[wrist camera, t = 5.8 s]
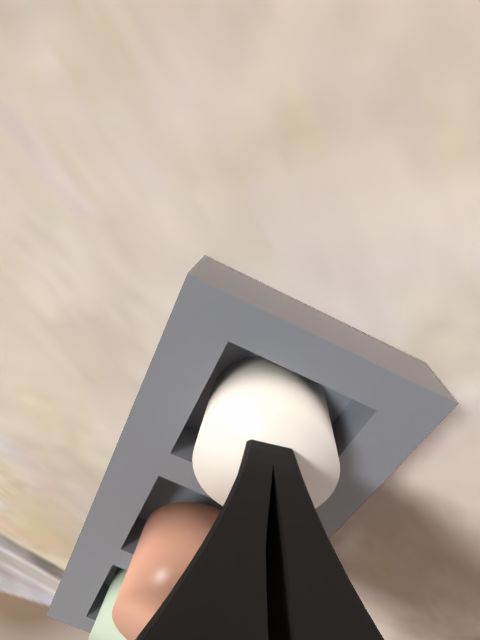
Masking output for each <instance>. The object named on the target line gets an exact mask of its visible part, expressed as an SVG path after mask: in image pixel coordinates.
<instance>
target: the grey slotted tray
mask: <svg viewBox="0 0 480 640" xmlns="http://www.w3.org/2000/svg"><path fill="white" fill-rule="evenodd" d="M254 356H261V357H263V358H265V359H267V360H270V361H272V362H274V363H276V364H278V365H280V366H282V367H285V368H287V369H289V370H291V371H293V372H295V373H297V374H300V375H302V376H304V377H306V378H308V379H310V380H312V381H315V382H317V383H319V384H321V386H322V388H323V390H324V393H325V397H326V402H327V406H328V411H329V416H330V420H331V425H332V429H333V434H334V439H335V443H336V448H337V452H338V457H339V462H340V476H339V480H338V483H337V486H336V488H335V489H334V491H333V493H332V494H331V495H330V497H329V498H328V499H327V500H326V501H325V502H324V503H322V504H321V505H320V506H318V507H317V508H315V509H316V512H317V514H318V516H319V519H320V521H321V523H322V525H323V528H324V530H325V532H326V534H327V536H328V538H330V537H331V536H332V535H333V534H334V533H335V532H336V531H337V530H338V529H339V528H340V527H341V526H342V525H343V524H344V523H345V522H346V520H347V519H348V518H349V517H350V516H351V515H352V514H353V513H354V512H355V511H356V510H357V509H358V508H359V507H360V506H361V505H362V504H363V503H364V502H365V501H366V500H367V499H368V497H369V496H370V495H371V494H372V493H373V492H374V491H375V490H376V489H377V488H378V487H379V486H380V485H381V484H382V483H383V482H384V481H385V480H386V479H387V478H388V477H389V476H390V475H391V473H392V472H393V471H394V470H395V469H396V468H397V467H398V466H399V465H400V464H401V463H402V462H403V461H404V460H405V459H406V458H407V457H408V456H409V455H410V454H411V453H412V452H413V451H414V449H415V448H416V447H417V446H418V445H419V444H420V443H421V442H422V441H423V440H424V439H425V438H426V437H427V436H428V435H429V434H430V433H431V432H432V431H433V430H434V429H435V428H436V426H437V425H438V424H439V423H440V422H441V421H442V420H443V419H444V418H445V417H446V416H447V415H448V414H449V413H450V412H451V411H452V410H453V409H454V408H455V407H456V406H457V405H458V402H457V401H456V400H455V399H454V397H453V396H452V395H451V394H450V392H449V391H448V390H447V389H446V387H445V386H444V385H443V384H442V382H441V381H440V380H439V379H438V377H437V376H436V375H435V374H434V372H433V371H432V370H431V369H430V367H429V366H428V365H427V364H426V363H425V362H423V361H421V360H419V359H417V358H414V357H412V356H410V355H408V354H406V353H404V352H402V351H400V350H398V349H396V348H394V347H392V346H390V345H388V344H386V343H384V342H382V341H380V340H378V339H376V338H373V337H371V336H369V335H367V334H365V333H363V332H361V331H359V330H357V329H355V328H353V327H351V326H349V325H347V324H345V323H343V322H341V321H339V320H337V319H335V318H332V317H330V316H328V315H326V314H324V313H322V312H320V311H318V310H316V309H314V308H312V307H310V306H308V305H306V304H304V303H302V302H300V301H298V300H296V299H293V298H291V297H289V296H287V295H285V294H283V293H281V292H279V291H277V290H275V289H273V288H271V287H269V286H267V285H265V284H263V283H261V282H259V281H257V280H255V279H252V278H250V277H248V276H246V275H244V274H242V273H240V272H238V271H236V270H234V269H232V268H230V267H228V266H226V265H224V264H222V263H220V262H218V261H216V260H214V259H211V258H209V257H207V256H204V257H203V258H202V259H201V260H200V261H199V262H198V263H197V264H196V265H195V266H194V267H193V268H192V269H191V270H190V272H189V273H188V274H187V276H186V279H185V281H184V284H183V286H182V288H181V291H180V293H179V296H178V298H177V300H176V303H175V305H174V308H173V310H172V313H171V315H170V317H169V320H168V322H167V325H166V327H165V330H164V332H163V334H162V337H161V339H160V342H159V344H158V346H157V349H156V351H155V354H154V356H153V359H152V361H151V363H150V366H149V368H148V371H147V373H146V376H145V378H144V380H143V383H142V385H141V388H140V390H139V392H138V395H137V397H136V400H135V402H134V405H133V407H132V409H131V412H130V414H129V417H128V419H127V422H126V424H125V426H124V429H123V431H122V434H121V436H120V438H119V441H118V443H117V446H116V448H115V451H114V453H113V455H112V458H111V460H110V463H109V465H108V468H107V470H106V472H105V475H104V477H103V480H102V482H101V484H100V487H99V489H98V492H97V494H96V497H95V499H94V501H93V504H92V506H91V509H90V511H89V514H88V516H87V518H86V521H85V523H84V526H83V528H82V530H81V533H80V535H79V538H78V540H77V543H76V545H75V547H74V550H73V552H72V555H71V557H70V560H69V562H68V564H67V567H66V569H65V572H64V574H63V576H62V579H61V581H60V584H59V586H58V589H57V591H56V593H55V596H54V598H53V601H52V603H51V606H50V608H49V610H48V613H47V617H50V618H53V619H56V620H58V621H61V622H63V623H66V624H69V625H72V626H74V627H77V628H79V629H82V630H84V631H87V632H90V633H91V630H92V628H93V626H94V623H95V621H96V618H97V616H98V613H99V611H100V609H101V606H102V604H103V601H104V599H105V596H106V594H107V592H108V589H109V587H110V584H111V582H112V579H113V577H114V575H115V572H116V570H117V567H120V568H122V569H125V570H128V567H129V565H130V562H131V559H132V557H133V554H134V552H135V549H136V546H137V544H138V541H139V539H140V536H141V533H142V531H143V528H144V526H145V523H146V521H147V519H148V517H149V516H150V514H151V513H152V512H154V511H155V510H156V509H158V508H160V507H162V506H164V505H167V504H171V503H176V502H196V503H202V504H206V505H209V506H212V507H215V508H217V509H219V510H221V509H222V507H223V506H222V505H220V504H219V503H217V502H216V501H215V500H213V499H212V498H211V497H210V496H209V495H208V494H207V493H206V492H205V491H204V490H203V488H202V487H201V485H200V484H199V482H198V480H197V478H196V476H195V473H194V469H193V463H192V457H193V450H194V446H195V443H196V440H197V437H198V434H199V430H200V427H201V424H202V421H203V417H204V414H205V411H206V408H207V405H208V401H209V398H210V395H211V392H212V388H213V386H214V384H215V382H216V380H217V378H218V377H219V376H220V375H221V373H222V372H223V371H224V370H226V369H227V368H228V367H229V366H231V365H232V364H234V363H236V362H238V361H240V360H243V359H246V358H249V357H254Z"/></svg>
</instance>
